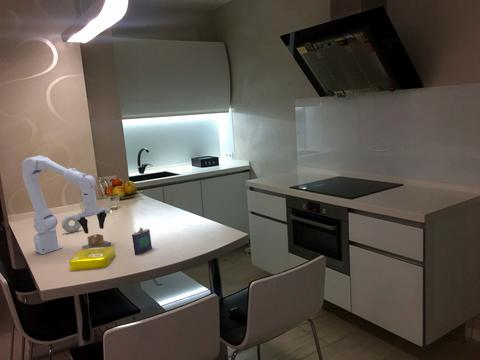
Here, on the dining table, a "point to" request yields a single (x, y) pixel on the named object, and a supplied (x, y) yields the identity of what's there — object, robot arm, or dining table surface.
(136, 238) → the flask
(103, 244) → the rod stand
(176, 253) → the dining table surface
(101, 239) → the wooden square ring
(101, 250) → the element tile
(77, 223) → the donut
